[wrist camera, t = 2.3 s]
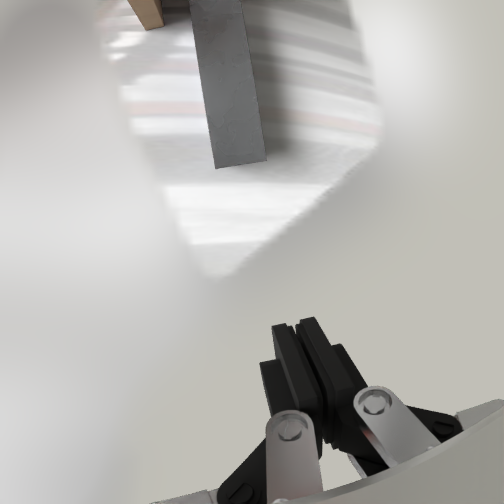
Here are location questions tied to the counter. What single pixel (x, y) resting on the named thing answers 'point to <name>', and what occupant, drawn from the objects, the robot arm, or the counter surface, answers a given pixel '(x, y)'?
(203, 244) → the counter surface
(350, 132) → the counter surface
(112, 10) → the counter surface
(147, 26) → the shelf
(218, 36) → the bar
